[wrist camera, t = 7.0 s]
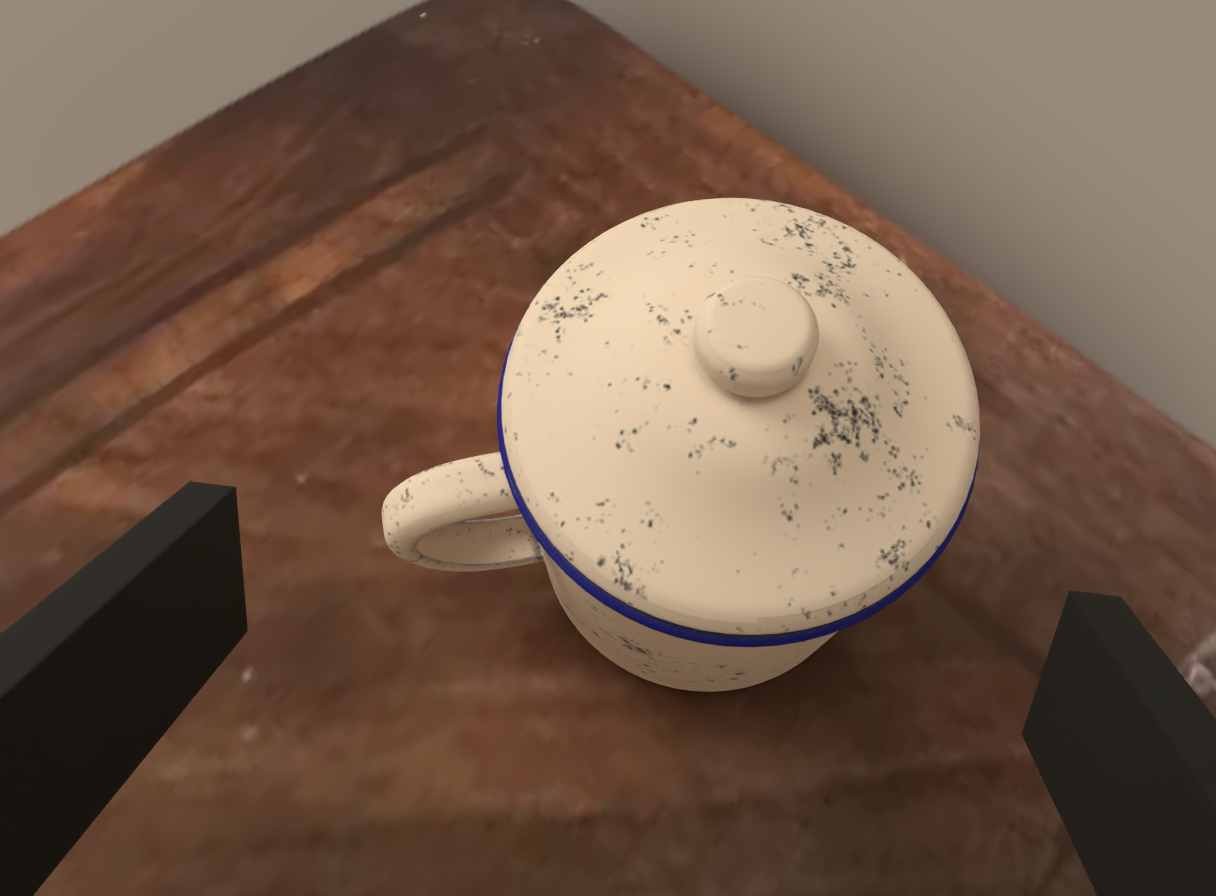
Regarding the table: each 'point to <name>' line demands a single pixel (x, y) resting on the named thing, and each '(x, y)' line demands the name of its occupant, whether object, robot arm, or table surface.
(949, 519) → the teacup with lid
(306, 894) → the table surface
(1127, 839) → the robot arm
